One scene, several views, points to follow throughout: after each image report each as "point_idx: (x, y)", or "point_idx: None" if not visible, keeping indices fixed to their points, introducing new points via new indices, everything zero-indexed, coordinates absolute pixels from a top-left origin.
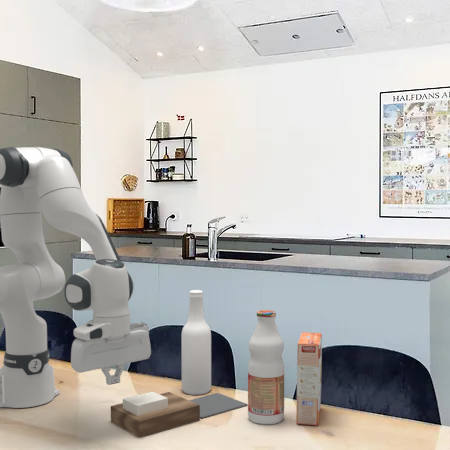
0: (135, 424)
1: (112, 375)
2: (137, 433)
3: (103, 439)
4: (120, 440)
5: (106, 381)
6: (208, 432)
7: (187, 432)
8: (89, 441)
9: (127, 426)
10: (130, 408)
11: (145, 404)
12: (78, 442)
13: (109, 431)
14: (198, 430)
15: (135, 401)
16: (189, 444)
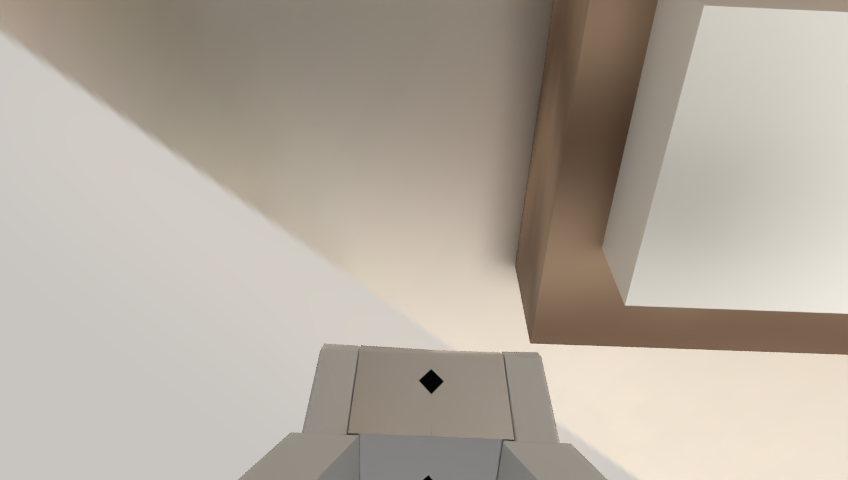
0: (532, 267)
1: (446, 453)
2: (521, 255)
3: (308, 130)
4: (396, 219)
5: (316, 375)
6: (844, 429)
7: (777, 369)
8: (203, 93)
9: (543, 128)
10: (637, 157)
11: (718, 304)
12: (120, 53)
13: (427, 19)
14: (842, 384)
15: (716, 196)
16: (642, 468)
